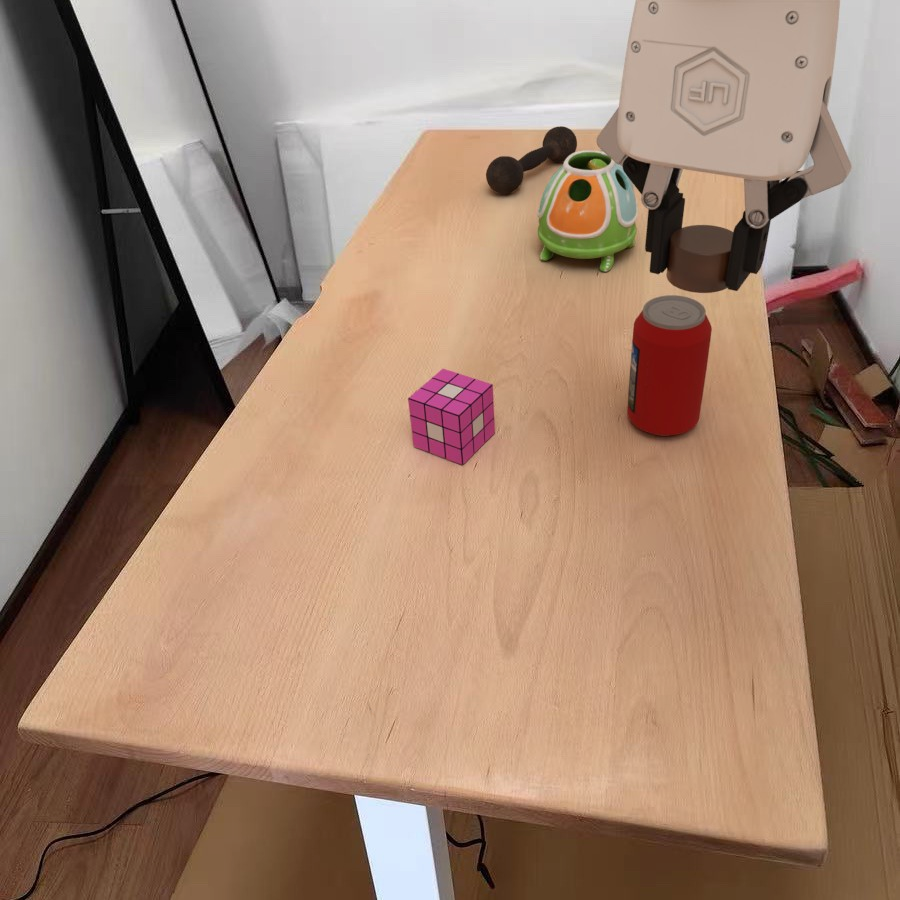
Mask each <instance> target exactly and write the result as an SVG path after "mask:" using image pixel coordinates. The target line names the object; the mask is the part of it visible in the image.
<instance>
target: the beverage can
mask: <svg viewBox="0 0 900 900" xmlns="http://www.w3.org/2000/svg"><path fill="white" fill-rule="evenodd" d="M706 312H707V311H706V308H705V306H704V305H703V304H702V303H701V302H700V301H698V300H696V299H694V298H691V297H688V296H684V295H673V294H672V295H670V294H669V295H667V294H666V295H660V296H657V297H654V298H652V299H649V300H648V301H646V302H645V304H644V305H643V307H642V310H641V312H640V313H639V314H638V315H637V317H636V318H635V320H634V321H633V330H632V339H631V341H632V342H631V354H630V366H629V379H628V380H629V381H628V392H627V395H628V396H627V417H628V419H629V421H630V422H631V423H632V425H634V426H635V427H636V428H638V429H639V430H641V431H644V432H646V433H648V434H651V435H655V436H659V437H660V436H661V437H662V436H663V437H667V436H670V437H671V436H676V435H681V434H684V433H687V432H689V431H690V430H692V429H694V427H695V426H696V425H697V424H698V423H699V420H700V416H701V410H702V409H701V408H702V403H703V396H704V389H705V382H706V376H707V367H708V362H709V354H710V346H711V339H712V331H713V329H712V325H711V322H710V320H709V317H708V316H707V313H706Z"/></svg>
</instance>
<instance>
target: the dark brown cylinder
mask: <svg viewBox="0 0 900 900" xmlns="http://www.w3.org/2000/svg"><path fill="white" fill-rule="evenodd" d="M732 237H733V231H732V230H730V229H728V228H726V227H725V228H724V227H722V226H718V225H710V224H694V225H688V226H684V227H683V226H682V228H680V229H678V230H676V231H675V232H674V233H673V234H672V235H671V237H670V246H669V255H668V264H667V268H666V274H665V275H666V279H667V281H668V283H670V284H671V285H672V286H673V287H676V288H677V289H679V290H682V291H686V292H690V293H696V294H711V293H712V294H713V293H718V292H721V291H724V290H727V289H728V287H726V286H725V283H726V276H727V270H728V263H729V257H730V250H731V244H732Z"/></svg>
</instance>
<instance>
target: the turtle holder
mask: <svg viewBox="0 0 900 900" xmlns="http://www.w3.org/2000/svg"><path fill="white" fill-rule="evenodd" d="M638 213H639V208H638V201H637V198H636V193H635V185H634V184H633V183H632V182H631V180H630V179H629V178H628V176H627V175H626V174H625V172H624V171H623V167H622V166H621V165H620V164H617V163H616V162H615V161H613V160H612V159H611V158H610V157H609V156H608V155H607V154H606V153H605V152H603V151H602V150H601V149H600V150H592V149H585V150H584V149H583V150H578V151H575V152H574V153H572V154H571V155H569V156H568V157H567V158H566V160H565V161H564V162H563V164H562V165H561V166H560V167H559V168H558V169H557V170H556V172H554V174H553V175H552V176H551V177H550V179H548V182H547V184H546V185H545V187H544V190H543V192H542V195H541V199H540V202H539V208H538V210H537V213H536V215H537V218H538V227H537V235H538V239H539V241H540V242H541V243H542V245H543V247H542V250H541V252H540V254H539V259H540V260H541V261H543V262H544V261H545V262H546V261H549V260H550V259H553V256H554V254H556V255H559V256H562V257H565V258H573V259H581V260H587V259H597V258H598V259H599V258H601V261H600V264H599V271H600V272H602V273H607V272H609V271H610V270H612V269H613V267H614V262H615V254H616V253H618V252H621V251H623V250H625V249H626V248H628V249H629V248H630V249H631V248H633V247H634V246H635V245H636V241H635V237H636V235H637V232H638V231H637V229H638V227H637V224H636V222H637V221H636V220H637V218H638Z"/></svg>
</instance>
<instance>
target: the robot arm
mask: <svg viewBox="0 0 900 900" xmlns="http://www.w3.org/2000/svg"><path fill="white" fill-rule="evenodd" d="M840 6H841V0H635V3H634V7H633V12H632V17H631V22H630V27H629V34H628V39H627V44H626V46H627V47H626V50H625V57H624V64H623V72H622V78H621V85H620V92H619V93H620V94H619V103H618V107H617V109H616V110H615V111H614V113H613V114H612V115H611V117H610V119H609V120H608V121H607V122H606V124H605V126H604V127H603V128H602V130H601V131H600V133H599V134H598V135H597V137H596V145H597V147H598V148H599V149H600V151H601V150H602V151H603V152H605V153H606V154H607V155H608V156H609V157H610V158H611V159H612V160H613V161H615V162H616V163H617V164H620V165H621V166H622V167H623V171H624V172H625V174H626V175H627V176H628V178H629V179H630V180H631V182H632V183H633V186H634V188H636V190H637V191H638V192H639V193H640V195H641V199H640V201H641V204H642V205H643V207H644V208H646V209H647V222H646V233H645V243H644V251H645V252H646V253H650V263H649V273H650V274H655V275H660V274H661V273H662V274H663V273H664V272H665V271H666V270H667V264H668V255H669V246H670V237H671V235H672V234H673V233H674V232H675V231H676V230H678V229H680V228H683V224H684V223H683V221H684V215H685V214H684V213H685V204H686V198H685V197H684V192H680V188H679V187H678V186H679V183H680V180H681V177H682V173H683V171H684V170H686V171H694V172H699V173H707V174H713V175H720V176H724V177H731V178H732V177H733V178H740V179H743V187H744V188H743V189H744V191H743V192H744V207H745V208H744V210H743V212H742V217H741V219H740V220H739V221H738V222H737V224H736V225H735V226H734V228H733V231H732V232H733V237H732V244H731V250H730V257H729V263H728V270H727V276H726V283H725V286H726V287H728V288H727V289H728V290H730V291H734V292H738V291H739V290H740V288H741V287H742V285H743V284H744V283H745V282H746V280H747V279H748V277H749V276H750V274H754V275H757V274H758V273H759V272H760V270H761V269H762V266H763V263H764V259H765V255H766V248H767V245H768V244H767V243H768V237H769V233H770V226H771V222H772V220H773V219H775V218H776V217H778V216H779V215H781V214H782V213H784V212H785V211H787V210H788V209H790V208H791V207H793V206H794V205H796V204H798V203H799V202H800V201H802V200H803V199H805V198H807V197H810V196H815V195H817V194H820V193H822V192H824V191H826V190H829V189H832V188H835V187H837V186H839V185H841V184H843V183H844V182H845V180H846V178H847V177H848V176H849V174H850V172H852V163H851V160H850V159H849V156H848V154H847V151H846V149H845V146H844V144H843V142H842V140H841V138H840V135H839V132H838V130H837V128H836V125H835V123H834V120H833V118H832V116H831V114H830V111H829V108H828V107H829V103H830V97H831V89H832V83H833V82H832V81H833V75H834V68H835V67H834V66H835V58H836V51H837V50H836V49H837V41H838V40H837V39H838V31H839V19H840V9H841V8H840ZM809 155H810V156H811V159H812V163H813V165H810V166H809V167H808V168H805V169H802V170H800V169H801V168H803V166H804V164H805V163H806V162H807V159H808V157H809Z"/></svg>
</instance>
